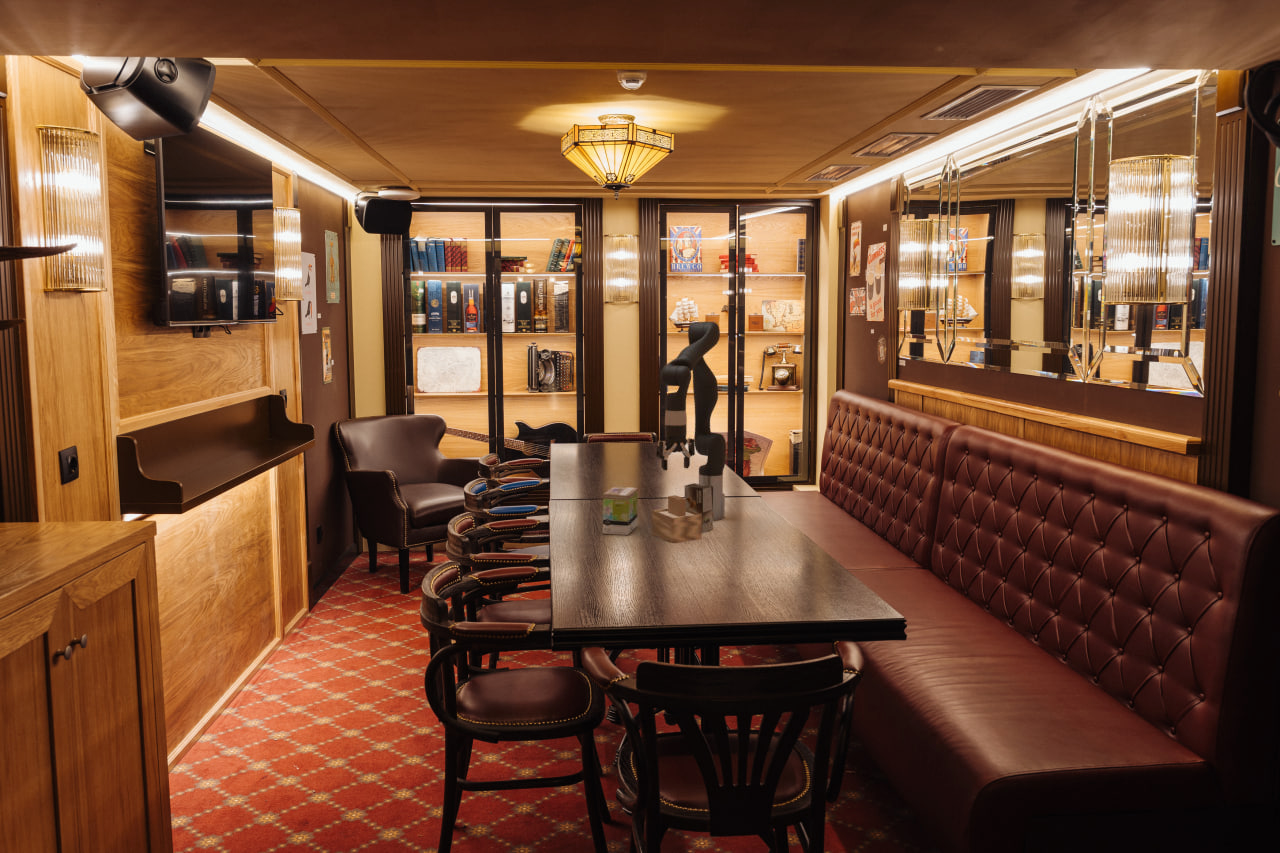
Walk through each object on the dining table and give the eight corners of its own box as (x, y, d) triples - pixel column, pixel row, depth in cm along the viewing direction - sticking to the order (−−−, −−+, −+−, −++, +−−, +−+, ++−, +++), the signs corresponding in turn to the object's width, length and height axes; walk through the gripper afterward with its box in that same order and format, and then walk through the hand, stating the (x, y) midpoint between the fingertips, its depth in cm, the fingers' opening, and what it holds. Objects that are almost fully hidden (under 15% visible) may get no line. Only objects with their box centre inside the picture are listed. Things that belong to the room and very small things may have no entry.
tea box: (629, 535, 313) (629, 494, 311) (602, 534, 315) (601, 493, 313) (638, 525, 328) (638, 486, 326) (611, 524, 330) (611, 485, 328)
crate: (680, 530, 321) (681, 507, 320) (701, 538, 309) (701, 514, 308) (652, 534, 315) (652, 510, 314) (672, 542, 303) (672, 518, 302)
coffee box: (713, 529, 323) (714, 486, 321) (702, 532, 318) (703, 488, 316) (694, 525, 329) (694, 482, 327) (683, 528, 324) (683, 485, 322)
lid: (680, 512, 319) (680, 493, 318) (697, 518, 308) (698, 499, 308) (656, 515, 314) (656, 495, 313) (673, 522, 304) (673, 502, 303)
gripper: (687, 420, 314) (687, 465, 316) (652, 423, 307) (652, 469, 309) (698, 423, 307) (698, 469, 309) (663, 425, 301) (663, 472, 303)
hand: (675, 469), depth 309 cm, fingers open, 8 cm apart
